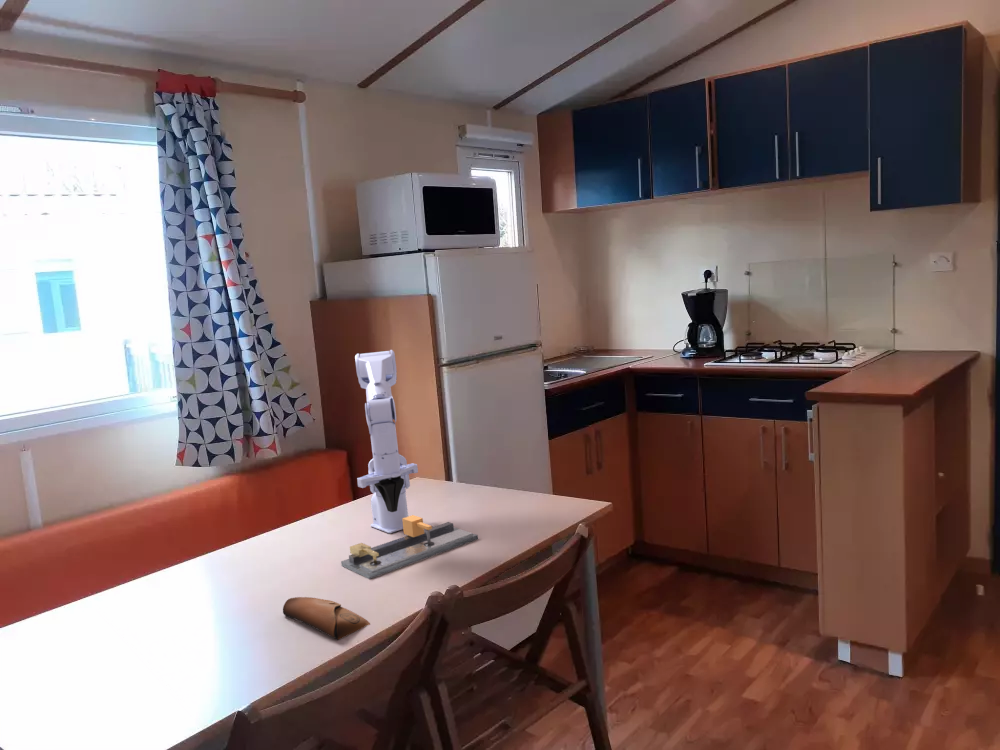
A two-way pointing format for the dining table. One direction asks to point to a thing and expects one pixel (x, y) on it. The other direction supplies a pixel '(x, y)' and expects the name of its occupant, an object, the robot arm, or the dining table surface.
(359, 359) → the robot arm
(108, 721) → the dining table surface
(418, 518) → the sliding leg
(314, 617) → the sunglasses case
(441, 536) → the board
